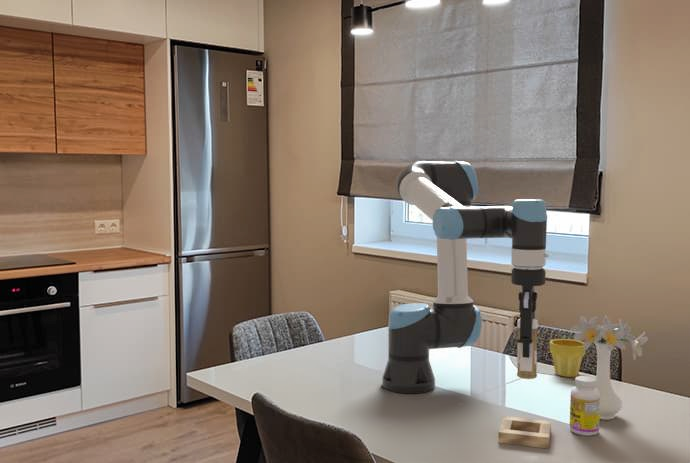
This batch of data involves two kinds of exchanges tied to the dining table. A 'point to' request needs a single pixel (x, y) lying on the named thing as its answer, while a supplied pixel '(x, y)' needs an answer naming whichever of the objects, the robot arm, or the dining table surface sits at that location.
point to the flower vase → (607, 356)
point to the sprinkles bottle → (534, 359)
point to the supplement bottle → (585, 407)
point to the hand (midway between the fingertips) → (526, 367)
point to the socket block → (525, 432)
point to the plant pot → (567, 356)
